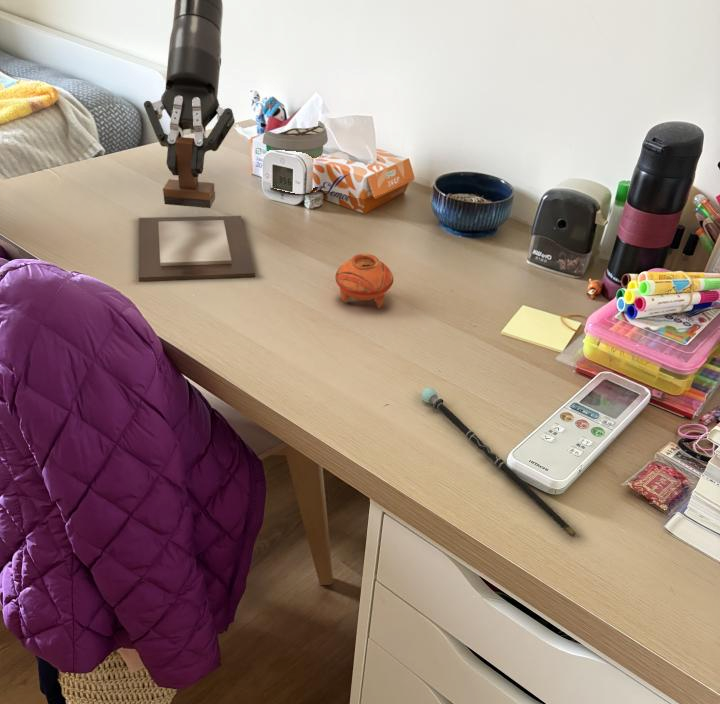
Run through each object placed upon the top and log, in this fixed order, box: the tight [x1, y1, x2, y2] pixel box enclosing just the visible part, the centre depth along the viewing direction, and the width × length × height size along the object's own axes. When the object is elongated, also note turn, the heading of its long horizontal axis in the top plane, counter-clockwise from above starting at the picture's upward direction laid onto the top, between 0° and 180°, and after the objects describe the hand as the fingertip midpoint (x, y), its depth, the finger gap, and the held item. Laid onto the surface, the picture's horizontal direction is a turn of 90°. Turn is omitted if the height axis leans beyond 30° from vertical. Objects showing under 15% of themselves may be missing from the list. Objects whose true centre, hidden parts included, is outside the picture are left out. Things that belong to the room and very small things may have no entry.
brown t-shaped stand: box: [162, 136, 216, 209], centre depth 107 cm, size 7×4×9 cm, turn 88°
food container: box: [262, 120, 329, 196], centre depth 124 cm, size 12×6×10 cm, turn 129°
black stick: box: [421, 387, 576, 536], centre depth 76 cm, size 2×25×2 cm
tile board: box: [138, 215, 256, 282], centre depth 107 cm, size 16×20×1 cm
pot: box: [334, 253, 394, 309], centre depth 98 cm, size 8×8×7 cm
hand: (184, 173), depth 106 cm, fingers closed on brown t-shaped stand, 2 cm apart
